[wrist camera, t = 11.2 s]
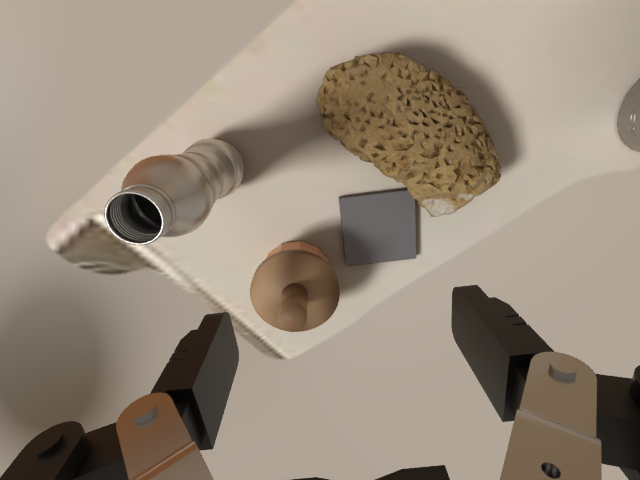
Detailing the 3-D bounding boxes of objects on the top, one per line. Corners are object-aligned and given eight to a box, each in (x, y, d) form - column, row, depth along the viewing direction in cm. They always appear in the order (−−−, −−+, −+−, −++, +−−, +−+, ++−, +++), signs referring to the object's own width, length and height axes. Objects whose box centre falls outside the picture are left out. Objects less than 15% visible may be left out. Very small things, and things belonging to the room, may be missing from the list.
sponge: (491, 153, 41) (409, -8, 32) (521, 184, 35) (430, -4, 25) (396, 210, 46) (300, 86, 37) (408, 246, 40) (296, 109, 30)
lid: (334, 244, 39) (337, 269, 33) (342, 320, 43) (347, 354, 37) (243, 255, 39) (231, 281, 33) (260, 329, 43) (252, 364, 37)
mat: (413, 187, 41) (414, 189, 40) (414, 255, 44) (416, 258, 44) (338, 197, 41) (339, 198, 41) (345, 263, 45) (346, 266, 44)
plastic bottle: (255, 184, 41) (204, 252, 22) (201, 198, 41) (108, 275, 23) (237, 129, 38) (164, 154, 20) (180, 144, 39) (58, 182, 20)
